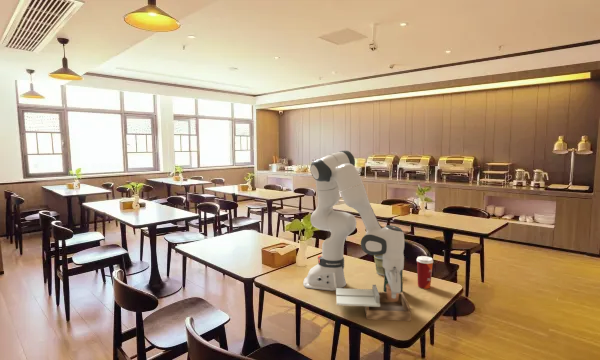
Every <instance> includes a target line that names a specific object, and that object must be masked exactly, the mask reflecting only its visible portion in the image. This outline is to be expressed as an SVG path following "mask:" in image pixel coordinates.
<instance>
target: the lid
mask: <svg viewBox="0 0 600 360" xmlns="http://www.w3.org/2000/svg"><path fill="white" fill-rule="evenodd" d="M371 286H372V289H371V288H370V289H367V288H345V287H342V288H336V290H335V295H336V297H335V298H336V299H335V300H336V306H344V307H345V306H347V307H348V306H349V307H364V306H373V307H380V296H379V293H378V292H379V290H378V286H377V285H376V284H372V285H371Z"/></svg>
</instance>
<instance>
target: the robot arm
mask: <svg viewBox="0 0 600 360" xmlns="http://www.w3.org/2000/svg"><path fill="white" fill-rule="evenodd" d="M355 165H356V159H355V156H354V155H353V153H351V152H350V151H349V150H341V151H338V152H333V153H329V154H327V155H325V156H323V157H321V158H317V159H315V160H313V161H312V162H311V164H310V166H309V167H310V174H311V176H312V178H313V179H314V180H315V187H316V195H317V207H316V208H315V210H313V212H311V215H310V219H309V221H310V223H311V226H312V227H314V228H315V229H318V230H319V231H325V232H326V231H327V232H330V236H329V237H327V238H326V239H325V240H323V242H322V243H321V244H322V245H321V255H320V254H318V256H317V261H318V262H317V264H316V265H314V266H313V267H311V268H310V269H309V271H308V273H307V276H306V277H304V279H303V283H302V285H303V287H304V288H306V289H313V290H323V291H331V292H333V291H336V288H345V287H346V285H347V280H346V278H345V271H344V268H345V257H344V250H345V249H344V248H345V246H344V245H345V241H346V240H347V238H348V236H350V235H351V234H352V233H354V231H355V230H356V228H357V219H356V216H355V215H354V214H352V213H349V212H346V211H341V210H340V211H338V210H334V206H335V205H337V204H338V203H339V202H340V199H342V200H343V202H344V203H345V205H346V206H347V207H350V208H351V209H354V210H355V211H357V213H358V215H359V216H360V218H361V220H362V223H363V225H364V226H365V230H366V233H365V235H364V236H363V237H362V238H361V241H360V247H361V249H362V251H363V252H364V253H365V254H367V255H369V256H374V255H383V268H385V274H386V277H387V280H388V283H389V286H390V289H391V297H392V298H396V293H400V292H401V277H400V272H401V270H403V271H404V268H405V267H404V266H405V256H404V255H405V254H404V250H405V233H404V230H403V229H402V228H400V227H399V226H396V225H385V226H384V227H382V225H381V224H380V223H379V220H378V218H377V217H376V213H375V211H374V209H373V207H372V204H371V202H370V200H369V197H368V194H367V190H366V187H365V185H364V183H363V182H364V181H363V180H362V178H361V175H360V173H359V171H358V170H357V168H356V167H355ZM401 293H402V292H401Z"/></svg>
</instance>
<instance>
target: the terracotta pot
mask: <svg viewBox="0 0 600 360" xmlns="http://www.w3.org/2000/svg"><path fill="white" fill-rule="evenodd" d="M386 288H387V289H386V299H387V300H388V301H391V302H397V301H398V300H399V293H396V298H392V297H391V289H390V286H389V283H388V284H386Z"/></svg>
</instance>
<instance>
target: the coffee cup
mask: <svg viewBox="0 0 600 360" xmlns="http://www.w3.org/2000/svg"><path fill="white" fill-rule="evenodd" d="M433 259H434V258H432V257H431V256H426V255H425V256H424V255H421V256H419V255H418V256H417V258H416V264H417V265H416V267H417V268H416V269H417V272H416V273H417V287H418V288H420V289H424V290H427V289H430V288H431V286H432V285H431V283H432V273H433V263H434V260H433Z"/></svg>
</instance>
